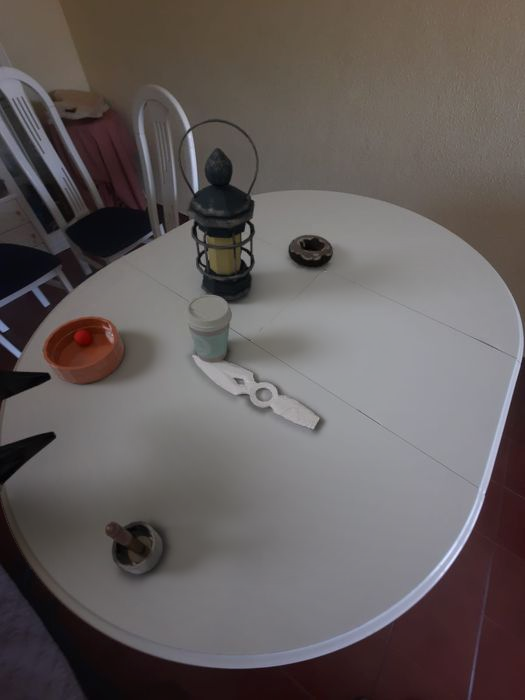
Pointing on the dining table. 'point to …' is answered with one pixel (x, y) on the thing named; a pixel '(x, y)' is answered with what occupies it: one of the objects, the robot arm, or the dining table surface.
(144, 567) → the utensil holder
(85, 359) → the bowl
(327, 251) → the donut
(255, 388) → the knife
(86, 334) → the cherry tomato
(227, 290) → the lantern
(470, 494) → the dining table surface
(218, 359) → the coffee cup
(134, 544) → the brown wooden rod
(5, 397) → the robot arm
